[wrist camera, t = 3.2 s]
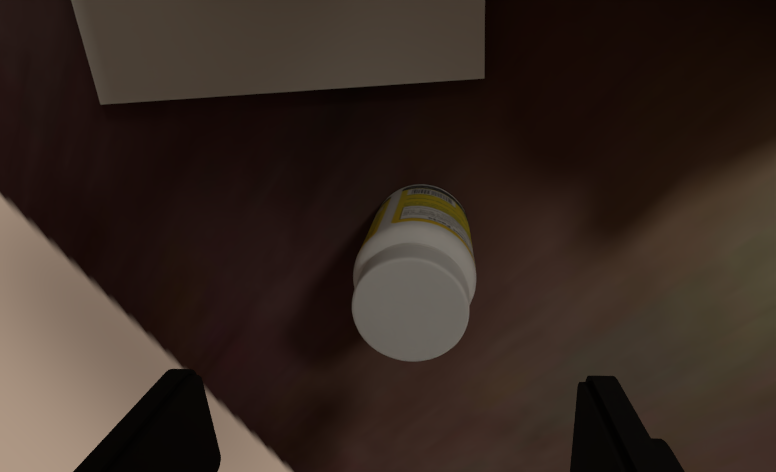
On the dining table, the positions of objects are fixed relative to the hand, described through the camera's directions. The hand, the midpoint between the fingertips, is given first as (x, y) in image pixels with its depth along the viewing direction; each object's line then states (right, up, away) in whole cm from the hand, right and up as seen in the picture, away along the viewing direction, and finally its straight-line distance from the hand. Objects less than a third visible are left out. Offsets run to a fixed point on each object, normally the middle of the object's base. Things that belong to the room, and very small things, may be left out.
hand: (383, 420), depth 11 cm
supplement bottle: (+2, +5, +12) cm, 13 cm away
